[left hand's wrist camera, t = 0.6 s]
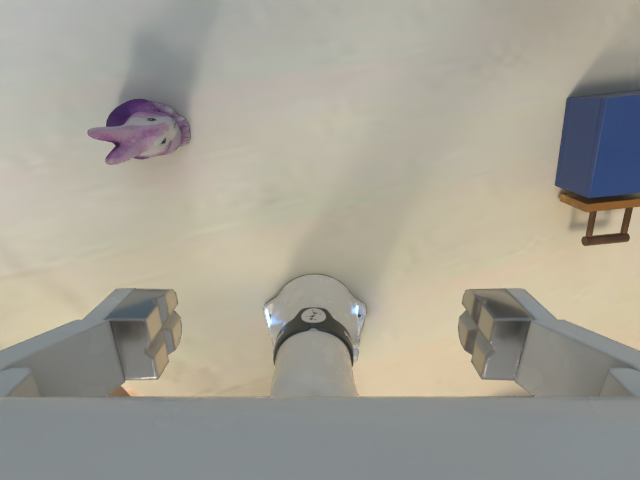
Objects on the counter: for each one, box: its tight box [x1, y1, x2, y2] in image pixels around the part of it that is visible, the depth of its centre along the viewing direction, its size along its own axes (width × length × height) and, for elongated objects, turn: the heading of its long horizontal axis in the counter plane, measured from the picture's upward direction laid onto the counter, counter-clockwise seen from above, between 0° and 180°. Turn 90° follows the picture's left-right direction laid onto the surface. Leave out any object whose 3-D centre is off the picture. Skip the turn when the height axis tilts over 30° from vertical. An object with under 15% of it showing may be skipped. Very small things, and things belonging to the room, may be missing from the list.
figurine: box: [88, 99, 190, 165], centre depth 46 cm, size 9×10×15 cm
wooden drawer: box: [560, 193, 640, 246], centre depth 53 cm, size 18×10×6 cm, turn 6°
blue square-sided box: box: [555, 90, 640, 198], centre depth 50 cm, size 13×11×8 cm
